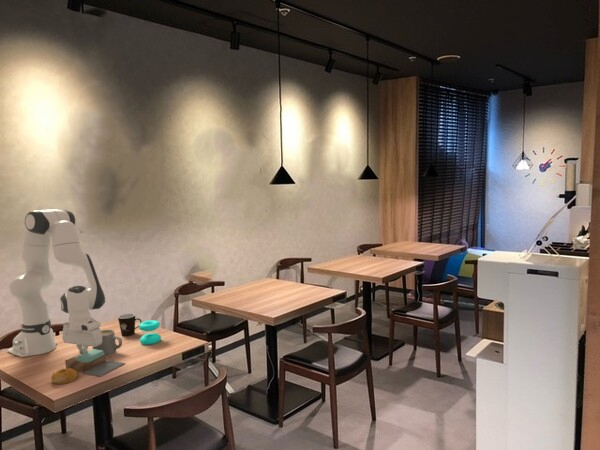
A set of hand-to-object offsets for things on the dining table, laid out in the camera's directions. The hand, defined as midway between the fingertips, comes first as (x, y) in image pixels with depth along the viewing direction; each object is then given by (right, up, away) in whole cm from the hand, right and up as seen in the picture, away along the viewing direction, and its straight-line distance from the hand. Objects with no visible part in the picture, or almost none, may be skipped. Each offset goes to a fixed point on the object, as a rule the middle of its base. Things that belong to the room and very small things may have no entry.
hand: (83, 353), depth 210 cm
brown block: (+1, -5, 0) cm, 5 cm away
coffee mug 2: (+7, -1, +39) cm, 39 cm away
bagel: (-2, -7, -14) cm, 15 cm away
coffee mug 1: (+5, -4, +13) cm, 15 cm away
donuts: (+21, -2, +27) cm, 34 cm away
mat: (+11, -5, -4) cm, 13 cm away
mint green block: (+4, -1, -2) cm, 5 cm away
